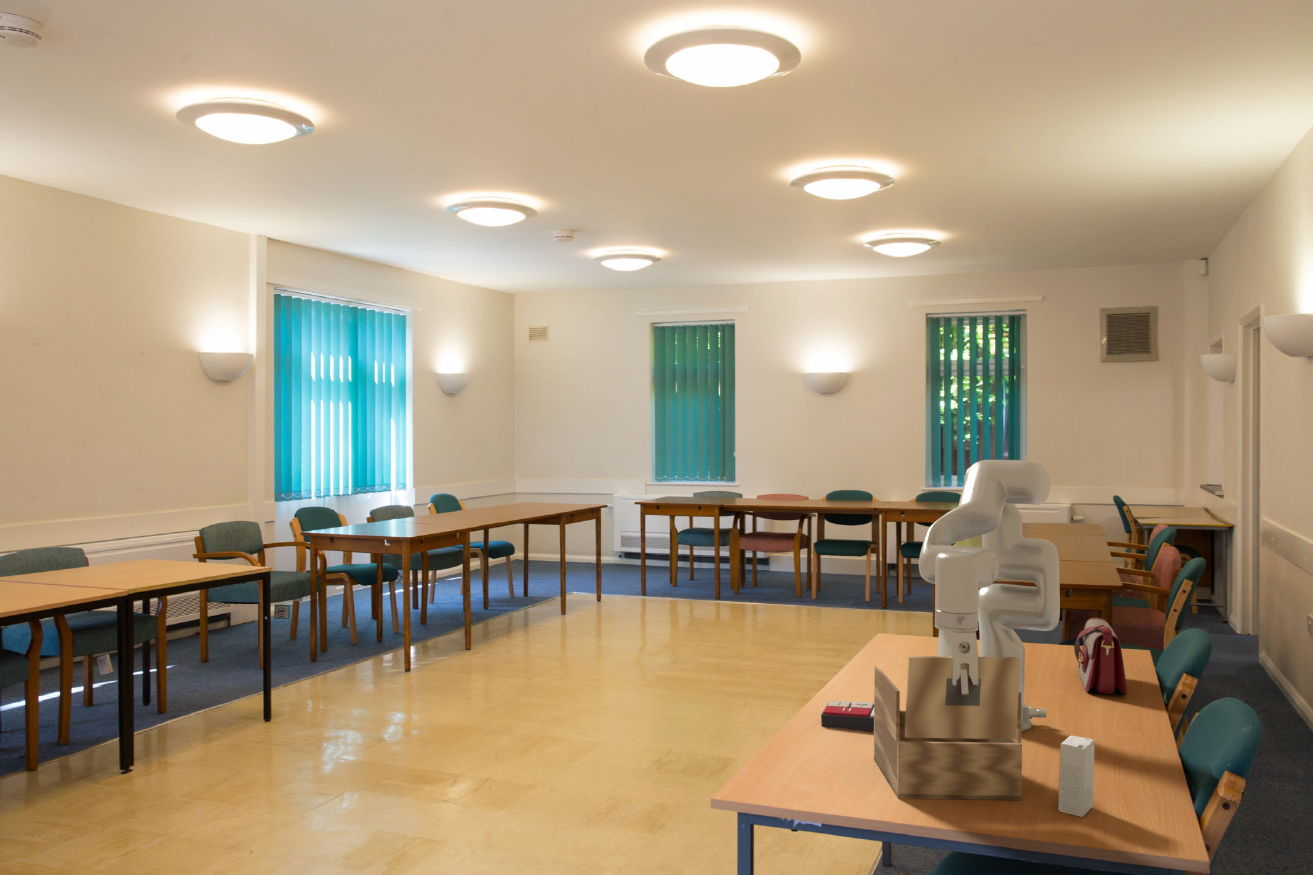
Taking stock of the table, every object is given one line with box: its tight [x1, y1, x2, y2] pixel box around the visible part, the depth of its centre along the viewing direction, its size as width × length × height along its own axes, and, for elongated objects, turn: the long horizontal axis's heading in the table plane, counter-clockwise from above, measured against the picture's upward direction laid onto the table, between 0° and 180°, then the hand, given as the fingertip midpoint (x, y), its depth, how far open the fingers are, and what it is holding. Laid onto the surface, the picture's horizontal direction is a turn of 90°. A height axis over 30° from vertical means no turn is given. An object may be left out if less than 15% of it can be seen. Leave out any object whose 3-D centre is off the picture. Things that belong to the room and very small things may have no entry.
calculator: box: [820, 699, 874, 733], centre depth 209 cm, size 11×4×15 cm
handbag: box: [1073, 617, 1128, 697], centre depth 243 cm, size 28×11×17 cm, turn 160°
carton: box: [873, 665, 1023, 801], centre depth 175 cm, size 22×20×19 cm
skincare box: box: [1057, 735, 1095, 818], centre depth 161 cm, size 6×4×12 cm
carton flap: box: [905, 655, 1021, 739], centre depth 164 cm, size 20×15×1 cm
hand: (955, 720), depth 168 cm, fingers closed
